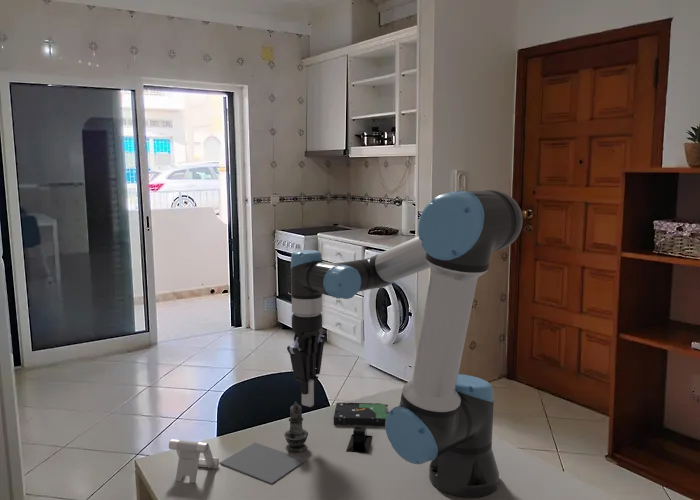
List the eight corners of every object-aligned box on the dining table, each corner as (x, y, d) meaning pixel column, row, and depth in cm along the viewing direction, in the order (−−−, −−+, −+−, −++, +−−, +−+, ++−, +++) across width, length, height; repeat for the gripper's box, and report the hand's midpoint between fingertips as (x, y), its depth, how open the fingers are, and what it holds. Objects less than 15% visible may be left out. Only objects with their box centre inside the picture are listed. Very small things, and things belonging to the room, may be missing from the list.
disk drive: (333, 427, 154) (388, 428, 153) (333, 417, 153) (388, 418, 152) (336, 411, 164) (388, 411, 163) (336, 402, 163) (388, 402, 163)
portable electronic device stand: (219, 466, 132) (218, 432, 131) (203, 484, 125) (201, 448, 123) (185, 462, 134) (183, 428, 133) (167, 479, 126) (165, 444, 125)
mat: (305, 461, 134) (305, 460, 134) (271, 484, 124) (271, 483, 124) (255, 443, 143) (255, 442, 143) (219, 463, 133) (219, 462, 133)
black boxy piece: (350, 433, 150) (350, 416, 149) (377, 435, 149) (377, 418, 148) (341, 456, 138) (341, 438, 137) (371, 458, 137) (372, 440, 136)
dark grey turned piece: (308, 441, 144) (308, 396, 142) (308, 453, 138) (307, 405, 137) (285, 442, 144) (284, 396, 142) (283, 454, 138) (283, 406, 136)
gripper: (310, 306, 148) (311, 393, 151) (277, 316, 137) (279, 410, 140) (334, 309, 144) (334, 399, 147) (302, 321, 133) (303, 417, 136)
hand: (307, 404), depth 144 cm, fingers closed
